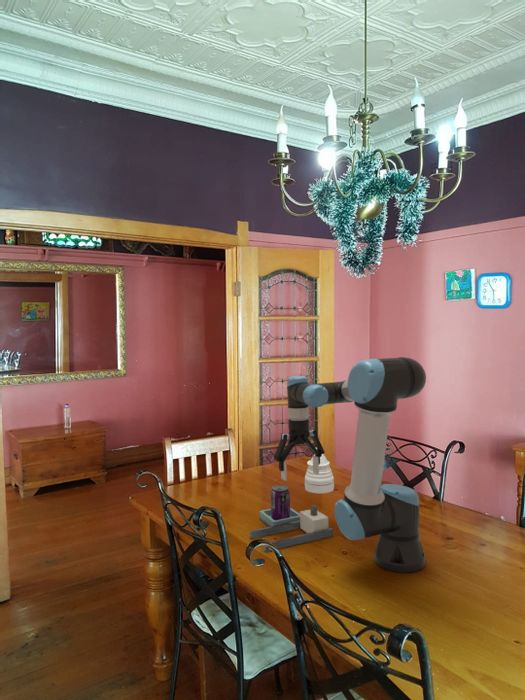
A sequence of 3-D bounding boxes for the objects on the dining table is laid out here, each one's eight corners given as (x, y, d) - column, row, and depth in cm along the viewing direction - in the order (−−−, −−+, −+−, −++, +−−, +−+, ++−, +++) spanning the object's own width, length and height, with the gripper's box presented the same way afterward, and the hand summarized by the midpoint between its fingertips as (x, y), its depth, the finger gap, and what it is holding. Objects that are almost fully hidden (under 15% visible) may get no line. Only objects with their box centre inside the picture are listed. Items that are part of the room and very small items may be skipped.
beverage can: (288, 523, 187) (288, 491, 186) (269, 522, 188) (269, 490, 187) (291, 516, 194) (290, 485, 193) (273, 515, 195) (272, 484, 194)
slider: (328, 534, 178) (328, 509, 177) (313, 537, 175) (313, 512, 175) (314, 524, 186) (314, 500, 186) (300, 527, 184) (299, 503, 183)
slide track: (333, 536, 177) (333, 529, 177) (265, 552, 166) (265, 544, 166) (314, 523, 188) (314, 517, 188) (250, 537, 177) (250, 530, 177)
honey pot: (301, 491, 224) (300, 450, 223) (309, 482, 236) (309, 444, 234) (329, 494, 219) (329, 453, 218) (337, 485, 231) (336, 446, 230)
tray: (303, 523, 188) (302, 516, 188) (273, 530, 183) (273, 522, 183) (287, 513, 199) (287, 505, 199) (259, 518, 194) (259, 511, 194)
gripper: (321, 413, 195) (323, 469, 196) (263, 421, 184) (265, 479, 185) (332, 416, 188) (334, 473, 189) (273, 424, 177) (275, 484, 178)
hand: (300, 476), depth 187 cm, fingers open, 13 cm apart
